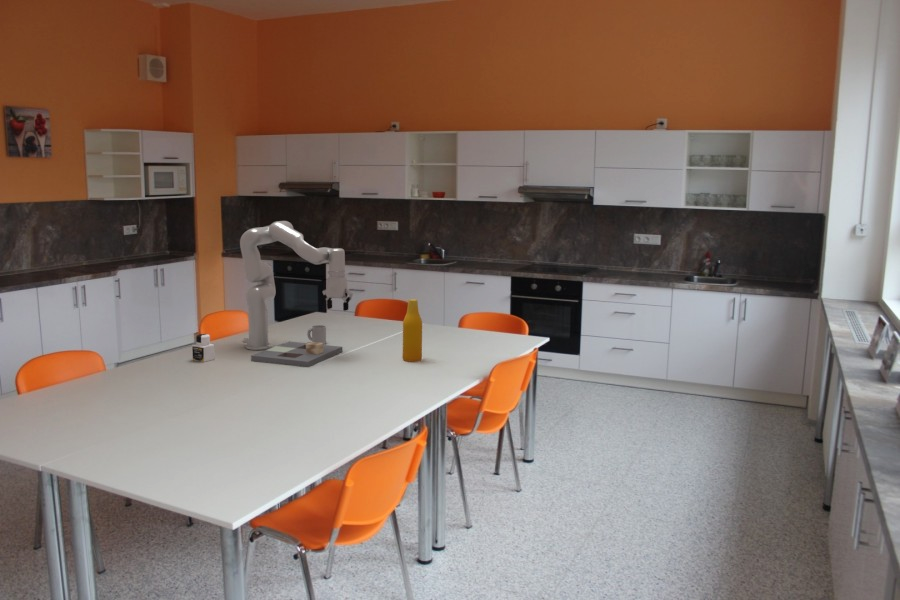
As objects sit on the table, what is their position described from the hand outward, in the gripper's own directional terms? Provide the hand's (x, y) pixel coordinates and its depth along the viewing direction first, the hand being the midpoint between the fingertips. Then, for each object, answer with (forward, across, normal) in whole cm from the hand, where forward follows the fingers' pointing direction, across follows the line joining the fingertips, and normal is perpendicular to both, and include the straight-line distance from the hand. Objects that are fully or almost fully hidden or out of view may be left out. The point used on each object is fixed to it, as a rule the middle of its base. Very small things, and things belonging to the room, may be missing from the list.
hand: (337, 309), depth 371 cm
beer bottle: (+23, +36, +10) cm, 44 cm away
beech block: (+20, -5, -12) cm, 23 cm away
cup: (+22, -25, +14) cm, 36 cm away
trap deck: (+22, -14, -14) cm, 29 cm away
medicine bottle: (+22, -45, -43) cm, 66 cm away
